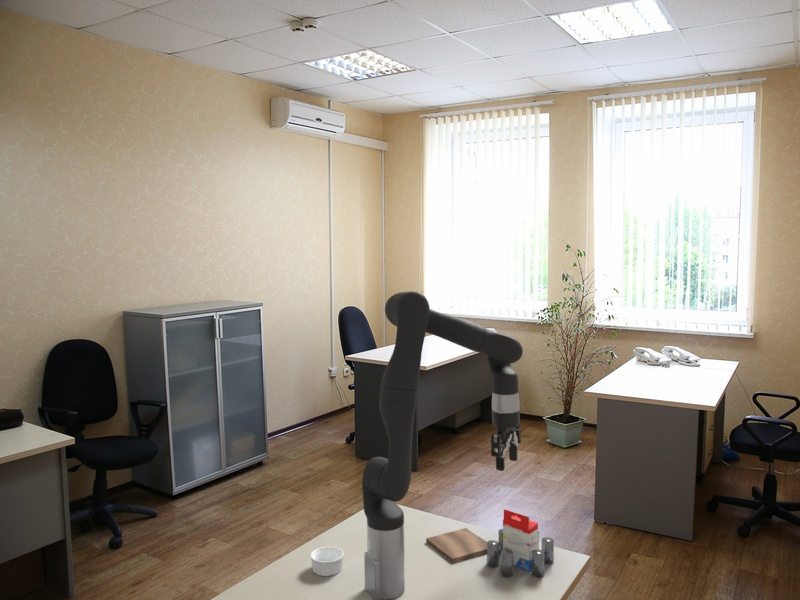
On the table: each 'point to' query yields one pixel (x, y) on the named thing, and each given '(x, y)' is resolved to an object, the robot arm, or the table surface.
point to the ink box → (520, 538)
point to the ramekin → (327, 560)
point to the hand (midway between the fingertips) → (507, 465)
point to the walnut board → (458, 545)
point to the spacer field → (507, 556)
